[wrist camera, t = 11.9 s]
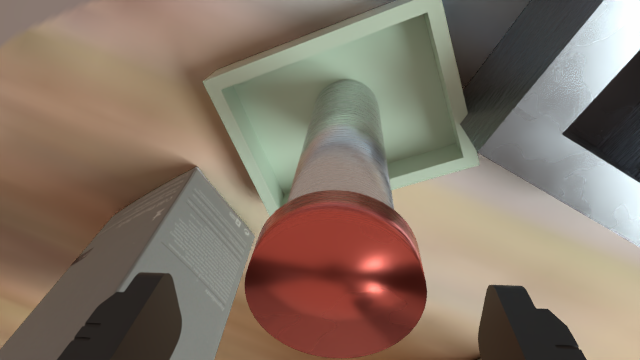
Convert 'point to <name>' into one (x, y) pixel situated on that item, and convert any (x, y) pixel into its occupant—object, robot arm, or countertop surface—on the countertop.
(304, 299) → the pin
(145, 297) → the robot arm
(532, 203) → the countertop surface
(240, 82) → the dish
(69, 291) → the skincare box
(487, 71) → the block
